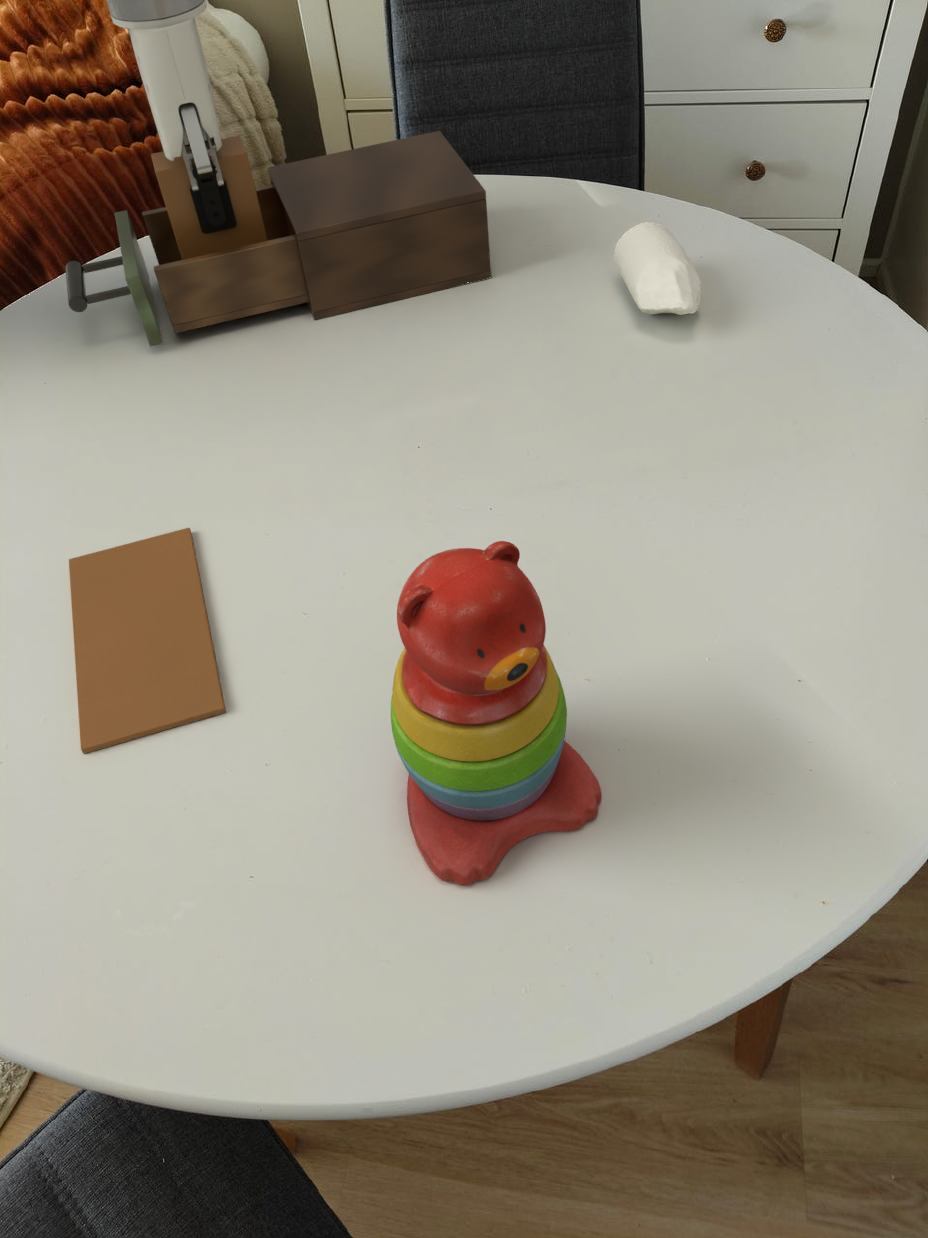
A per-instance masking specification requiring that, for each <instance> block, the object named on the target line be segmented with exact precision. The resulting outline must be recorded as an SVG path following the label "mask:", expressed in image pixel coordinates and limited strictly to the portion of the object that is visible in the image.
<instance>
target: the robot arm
mask: <svg viewBox="0 0 928 1238" xmlns="http://www.w3.org/2000/svg"><path fill="white" fill-rule="evenodd" d="M105 1H106V5H107V8H108V11H109V15H110V18H111V21H112V23H113V25H115V26H118V27H119V28H123V29H128V34H129V37H130V41H131V46H132V49H133V53H134V56H135V61H136V64H137V69H138V71H139V74H140V78H141V81H142V84H143V88H144V91H145V95H146V97H147V101H148V104H149V107H150V110H151V114H152V117H153V120H154V124H155V127H156V131H157V134H158V137H159V140H160V143H161V147H162V151H164V153H165V156H166V158H168V159H169V160H171V161H175V160H174V158H175V157H180V156H181V151H182V156H183V159H184V161H185V164H186V168H187V171H188V175H189V178H190V182H191V185H192V188H190V192H191V196H192V199H193V203H194V206H195V210H196V213H197V217H198V220H199V224H200V227H201V230H202V232H203V233H204V234H208V233H213V232H217V231H222V230H226V229H231V228H234V227H236V225H237V222H236V218H235V215H234V211H233V207H232V203H231V199H230V195H229V191H228V187H227V184H226V181H223V178H222V174H221V171H220V167H219V163H218V159H217V156H216V151H218V150H219V149H220V148H221V146H222V142H221V139H222V137H221V131H220V126H219V125H220V124H219V120H218V114H217V109H216V104H215V98H214V93H213V89H212V85H211V79H210V75H209V71H208V66H207V63H206V58H205V55H204V50H203V46H202V45H203V44H202V41H201V38H200V33H199V29H198V26H197V22H196V17H198V16H200V15H201V14H202V13H203V12H205V11H206V9H207V7H208V3H207V0H105ZM206 142H208V144H209V146H208V147H206V146H205V143H206ZM187 146H190V147H191V150H189V151H186V149H185V147H187ZM215 148H216V150H215ZM209 157H210V158H211V161H212V162H210V160H209ZM191 160H194V161H195V166H193V167H192V163H191ZM196 179H197V181H196Z"/></svg>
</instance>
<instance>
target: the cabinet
mask: <svg viewBox="0 0 928 1238" xmlns="http://www.w3.org/2000/svg"><path fill="white" fill-rule="evenodd" d="M267 172H268V176H269V181H270V184H273V185H274V188H275V190H276V192H277V194H278V197H279V199H280V201H281V204H282V206H283V208H284V211H285V213H286V215H287V218H288V220H289V222H290V224H291V227H292V229H293V231H294V234H295V236H296V239H297V244H298V249H299V253H300V258H301V263H302V267H303V272H304V277H305V281H306V286H307V291H308V295H309V300H310V302H306V304H307V306H308V308H309V311H310V313H311V315H312V318H313V319H314V321H317V320H320V319H325V318H329V317H333V316H337V315H343V314H346V313H350V312H354V311H359V310H362V309H363V310H364V309H367V308H371V307H376V306H380V305H383V304H384V305H385V304H388V303H392V302H396V301H400V300H401V301H402V300H405V299H409V298H412V297H417V296H421V295H425V294H430V293H434V292H439V291H442V290H443V291H444V290H447V289H450V288H454V287H453V286H455V287H458V286H457V285H460V286H463V285H462V284H464V285H467V284H466V283H467V282H469V283H468V284H471V283H470V282H472V283H475V282H474V281H476V282H479V281H478V280H481V281H484V280H483V279H485V280H488V279H487V278H489V277H491V278H492V269H491V253H490V252H491V251H490V236H489V234H490V233H489V221H488V220H489V219H488V206H487V205H488V203H487V191H486V189H485V188H484V186H483V185H482V184H481V183H480V181H479V180H478V179H477V178H476V176H475V175H474V173H473V172H472V171H471V170H470V168H469V167H468V165H466V163H465V162H464V161H463V160H462V158H461V157H460V155H459V154H458V152H456V150H455V149H454V148H453V146H452V145H451V144H450V142H449V141H448V140H447V139H446V137H445V136H444V135H443V133H442V131H441V130H437V131H432V132H427V133H423V134H417V135H413V136H408V137H404V138H399V139H395V140H390V141H385V142H380V143H376V144H371V145H367V146H362V147H358V148H352V149H348V150H343V151H339V152H334V153H329V154H325V155H320V156H319V155H318V156H314V157H311V158H305V159H301V160H296V161H292V162H291V161H290V162H286V163H282V164H277V165H273V166H268V167H267ZM489 279H490V278H489Z"/></svg>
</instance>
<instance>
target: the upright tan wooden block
mask: <svg viewBox="0 0 928 1238" xmlns="http://www.w3.org/2000/svg"><path fill="white" fill-rule="evenodd" d="M221 142H222V146H221V148H220V149H219V150H218V151H216V156H217V159H218V163H219V167H220V171H221V174H222V178H223V181H226V184H227V187H228V191H229V195H230V199H231V203H232V207H233V211H234V215H235V218H236V222H237V225H236V227H234V228H231V229H226V230H222V231H217V232H213V233H208V234H204V233H203V232H202V230H201V227H200V224H199V220H198V217H197V213H196V210H195V206H194V203H193V199H192V196H191V192H190V188H192V185H191V182H190V178H189V175H188V171H187V168H186V164H185V161H184V159H183V156H182V151H181V156H180V157H175V158H174V160H175V161H171V160H169V159H168V158H166V156H165V153H164V150H162V151H159V152H154V153H151V154H150V157H151V161H152V165H153V169H154V173H155V176H156V180H157V182H158V186H159V189H160V192H161V195H162V199H163V202H164V205H165V207H166V208H167V212H168V215H169V218H170V221H171V225H172V228H173V231H174V234H175V238H176V241H177V244H178V247H179V250H180V254H181V257H182V260H185V259H189V258H194V257H198V256H202V255H207V254H211V253H216V252H220V251H225V250H229V249H234V248H238V247H243V246H247V245H251V244H256V243H260V242H265V241H268V239H267V235H266V231H265V227H264V223H263V218H262V214H261V210H260V206H259V202H258V197H257V193H256V189H255V188H256V185H255V181H254V177H253V172H252V169H251V165H250V164H251V163H250V160H249V155H248V152H247V149H246V146H245V145H244V143H243V140H242V138H241V135H235V136H231V137H225V138H221ZM205 146H206V147H208V146H209V144H208V142H206V143H205ZM185 149H186V151H189V150H191V147H190V146H187V147H185ZM215 150H216V148H215ZM209 160H210V162H212V161H211V158H210V157H209ZM191 163H192V167H193V166H195V161H194V160H191ZM196 181H197V179H196Z"/></svg>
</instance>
